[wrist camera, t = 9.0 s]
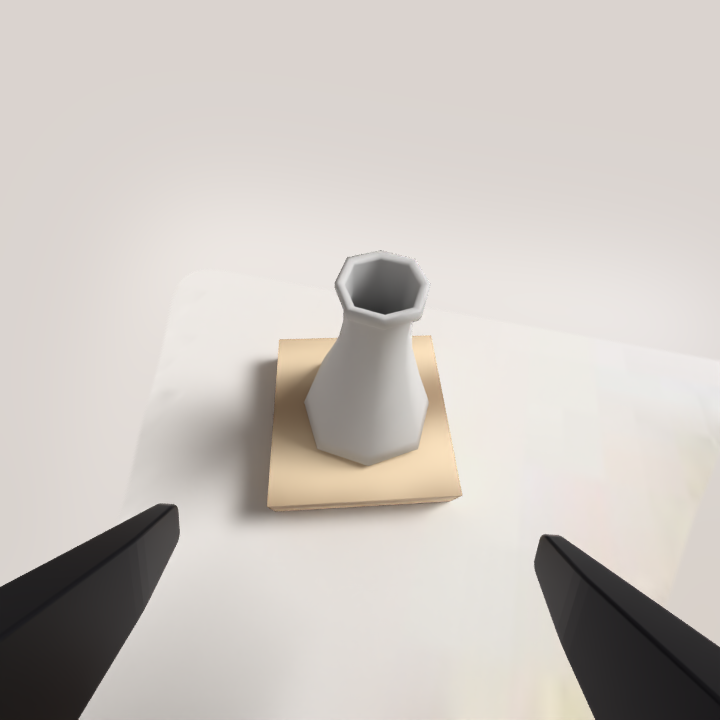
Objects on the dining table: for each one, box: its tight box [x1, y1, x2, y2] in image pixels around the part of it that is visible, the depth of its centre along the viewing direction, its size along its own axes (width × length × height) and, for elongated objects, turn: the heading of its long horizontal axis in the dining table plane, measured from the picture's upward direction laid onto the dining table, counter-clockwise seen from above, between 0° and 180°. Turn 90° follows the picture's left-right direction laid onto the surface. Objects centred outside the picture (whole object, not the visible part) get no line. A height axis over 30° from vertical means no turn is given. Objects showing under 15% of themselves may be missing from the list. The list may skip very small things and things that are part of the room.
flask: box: [304, 250, 430, 466], centre depth 15 cm, size 7×7×10 cm
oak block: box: [267, 336, 462, 512], centre depth 21 cm, size 10×10×3 cm
